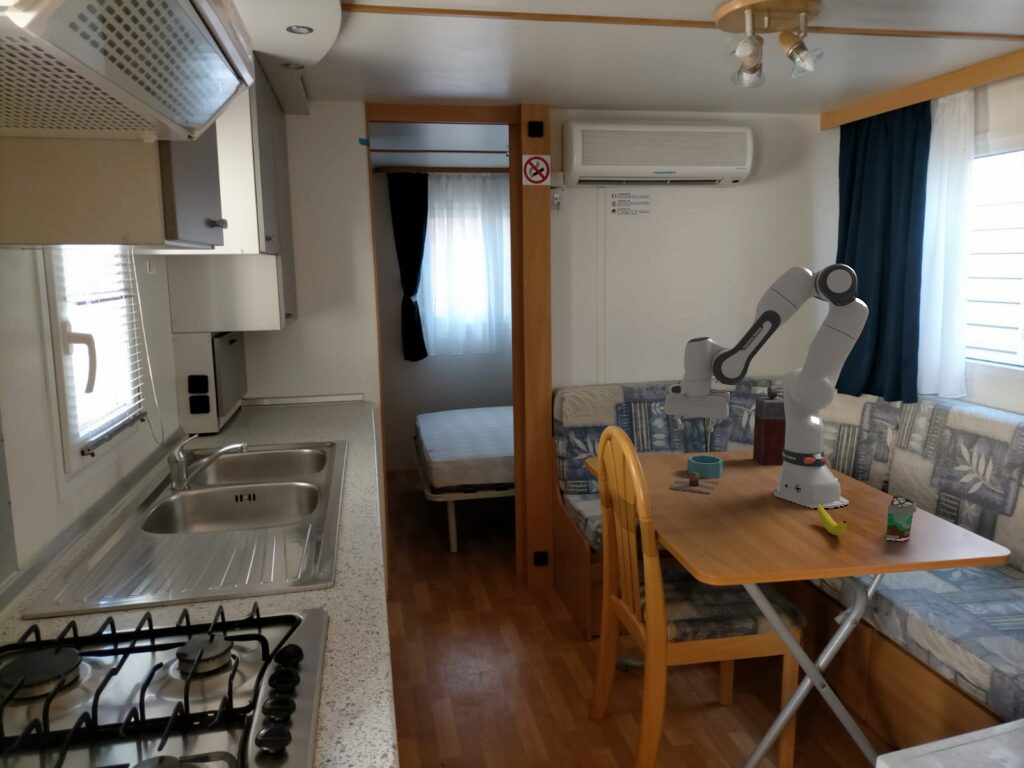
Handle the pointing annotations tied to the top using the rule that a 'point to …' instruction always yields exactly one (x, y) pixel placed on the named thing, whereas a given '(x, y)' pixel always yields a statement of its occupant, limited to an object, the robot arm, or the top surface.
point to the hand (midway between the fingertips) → (695, 430)
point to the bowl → (705, 466)
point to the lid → (694, 484)
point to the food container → (900, 516)
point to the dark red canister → (769, 429)
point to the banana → (830, 522)
